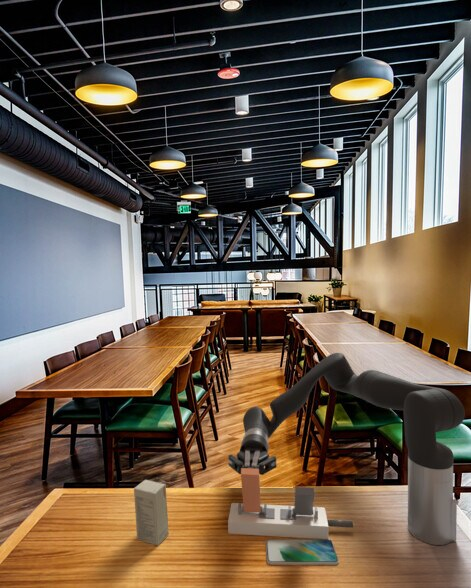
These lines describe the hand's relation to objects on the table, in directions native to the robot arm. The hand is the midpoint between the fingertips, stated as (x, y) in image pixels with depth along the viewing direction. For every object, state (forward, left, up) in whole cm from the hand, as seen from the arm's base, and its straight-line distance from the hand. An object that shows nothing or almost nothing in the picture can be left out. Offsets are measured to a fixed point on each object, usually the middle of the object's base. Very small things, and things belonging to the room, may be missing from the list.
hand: (249, 479), depth 89 cm
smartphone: (-11, +6, -13) cm, 18 cm away
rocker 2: (-12, -2, -9) cm, 15 cm away
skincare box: (+23, +4, -13) cm, 26 cm away
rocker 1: (0, -2, -9) cm, 9 cm away
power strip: (-9, -3, -13) cm, 16 cm away
